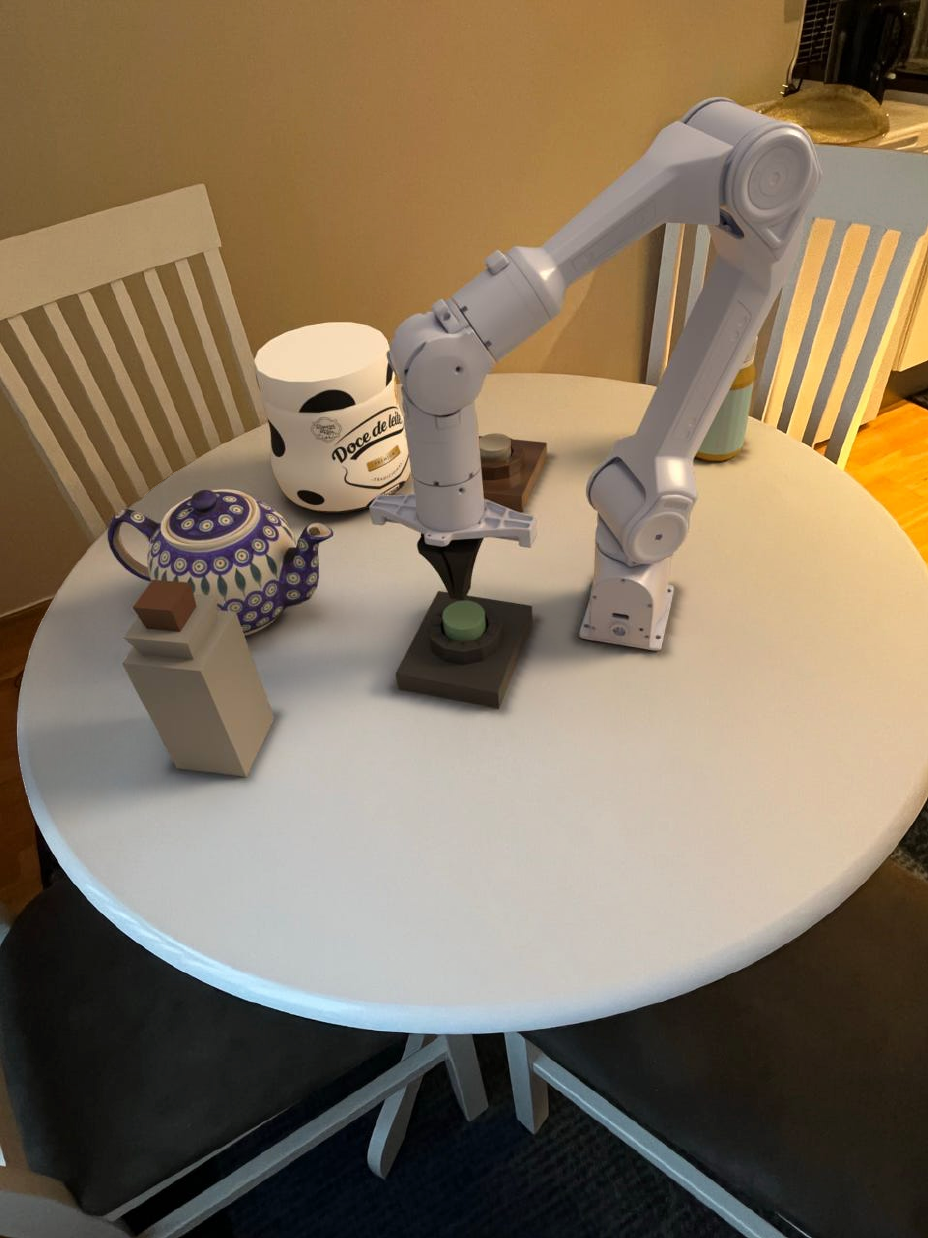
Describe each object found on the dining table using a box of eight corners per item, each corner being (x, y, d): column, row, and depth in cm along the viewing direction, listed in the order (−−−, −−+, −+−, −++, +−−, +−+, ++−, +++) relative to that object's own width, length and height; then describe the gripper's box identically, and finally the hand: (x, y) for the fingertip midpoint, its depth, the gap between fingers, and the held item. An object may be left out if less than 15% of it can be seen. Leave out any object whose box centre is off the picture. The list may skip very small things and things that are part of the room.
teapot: (103, 641, 87) (44, 528, 77) (173, 553, 98) (128, 443, 88) (324, 671, 81) (290, 552, 71) (373, 573, 92) (349, 458, 82)
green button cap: (478, 645, 77) (477, 632, 76) (438, 638, 78) (436, 625, 77) (491, 617, 80) (489, 603, 79) (451, 610, 81) (450, 597, 80)
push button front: (499, 708, 76) (496, 679, 73) (398, 689, 79) (392, 659, 76) (532, 621, 84) (531, 591, 82) (440, 606, 87) (436, 577, 84)
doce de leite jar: (404, 526, 98) (382, 385, 86) (264, 526, 100) (222, 388, 88) (426, 448, 110) (409, 315, 98) (300, 449, 113) (268, 319, 101)
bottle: (748, 461, 102) (768, 344, 92) (690, 464, 102) (704, 349, 92) (735, 432, 107) (753, 318, 97) (680, 435, 108) (693, 322, 97)
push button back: (522, 511, 98) (521, 483, 95) (442, 501, 101) (439, 473, 98) (547, 457, 106) (546, 429, 104) (472, 449, 109) (470, 422, 106)
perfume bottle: (246, 777, 73) (182, 628, 61) (176, 768, 74) (100, 621, 62) (274, 718, 78) (220, 569, 65) (208, 710, 79) (143, 563, 67)
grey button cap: (506, 464, 99) (505, 452, 98) (474, 461, 100) (473, 448, 99) (515, 447, 102) (514, 434, 101) (484, 444, 103) (483, 431, 102)
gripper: (344, 483, 67) (371, 607, 76) (517, 506, 63) (523, 635, 72) (379, 437, 72) (401, 560, 81) (542, 456, 67) (545, 584, 77)
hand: (460, 592), depth 77 cm, fingers closed
